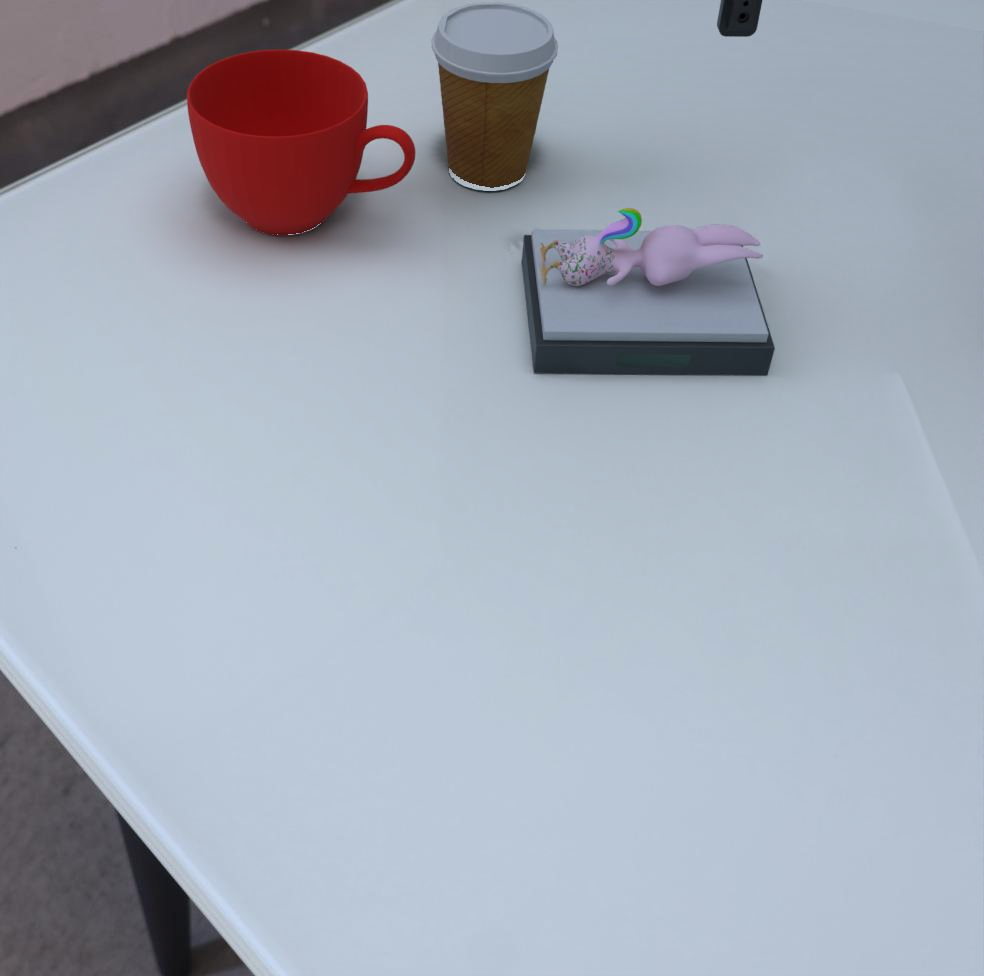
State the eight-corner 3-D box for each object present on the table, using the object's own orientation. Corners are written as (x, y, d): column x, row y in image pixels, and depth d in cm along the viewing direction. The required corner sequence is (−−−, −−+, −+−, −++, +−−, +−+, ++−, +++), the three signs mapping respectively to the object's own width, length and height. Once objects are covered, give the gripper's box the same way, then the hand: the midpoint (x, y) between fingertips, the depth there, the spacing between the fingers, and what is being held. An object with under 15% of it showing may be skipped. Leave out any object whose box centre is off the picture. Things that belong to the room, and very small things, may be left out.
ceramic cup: (382, 288, 95) (382, 164, 87) (170, 239, 98) (153, 116, 91) (440, 196, 103) (444, 77, 96) (243, 154, 107) (233, 36, 99)
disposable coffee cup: (471, 129, 110) (478, -12, 102) (568, 166, 107) (583, 23, 98) (404, 176, 105) (406, 31, 96) (503, 217, 101) (514, 70, 93)
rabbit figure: (543, 317, 90) (767, 297, 88) (536, 244, 85) (771, 221, 84) (542, 264, 94) (754, 244, 92) (535, 192, 90) (757, 169, 88)
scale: (734, 264, 98) (743, 227, 96) (767, 375, 89) (778, 338, 87) (521, 261, 97) (524, 224, 95) (533, 373, 89) (537, 335, 86)
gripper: (885, -268, 63) (810, 57, 74) (816, -345, 72) (759, -47, 84) (729, -269, 62) (678, 57, 74) (682, -347, 72) (643, -48, 84)
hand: (722, 1), depth 79 cm, fingers open, 8 cm apart
